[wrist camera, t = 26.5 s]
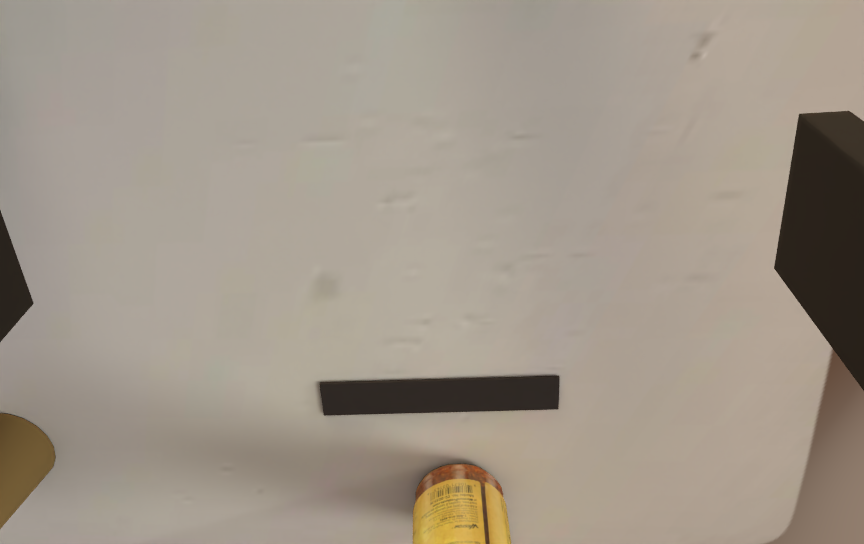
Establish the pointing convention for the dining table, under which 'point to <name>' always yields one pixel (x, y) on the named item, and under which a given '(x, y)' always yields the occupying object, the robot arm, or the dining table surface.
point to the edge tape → (440, 395)
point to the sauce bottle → (460, 508)
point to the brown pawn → (21, 462)
